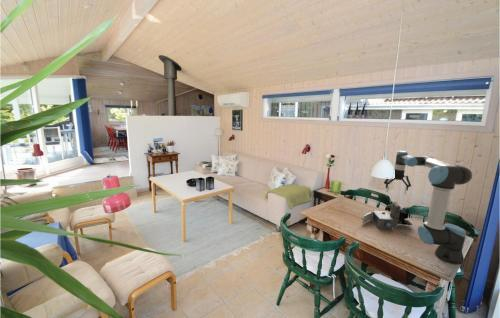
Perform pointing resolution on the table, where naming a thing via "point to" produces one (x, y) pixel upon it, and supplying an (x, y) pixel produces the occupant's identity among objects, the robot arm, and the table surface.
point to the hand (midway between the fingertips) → (395, 192)
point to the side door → (367, 217)
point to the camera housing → (382, 219)
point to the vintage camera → (399, 215)
